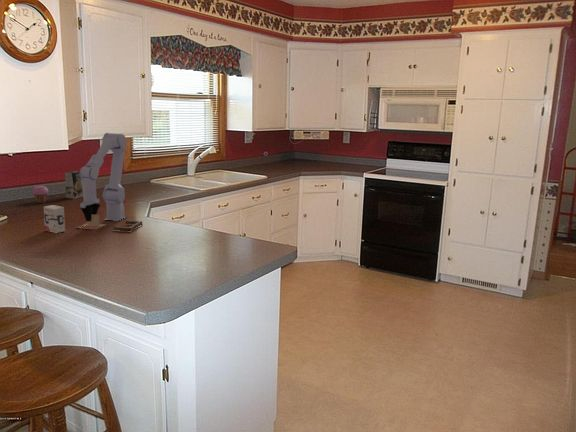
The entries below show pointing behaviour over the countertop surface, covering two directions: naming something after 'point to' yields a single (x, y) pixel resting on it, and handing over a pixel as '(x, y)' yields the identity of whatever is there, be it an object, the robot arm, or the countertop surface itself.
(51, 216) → the ink box
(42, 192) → the cupcake
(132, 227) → the shelf bay
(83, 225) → the plate
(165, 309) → the countertop surface
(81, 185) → the coffee box
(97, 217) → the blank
